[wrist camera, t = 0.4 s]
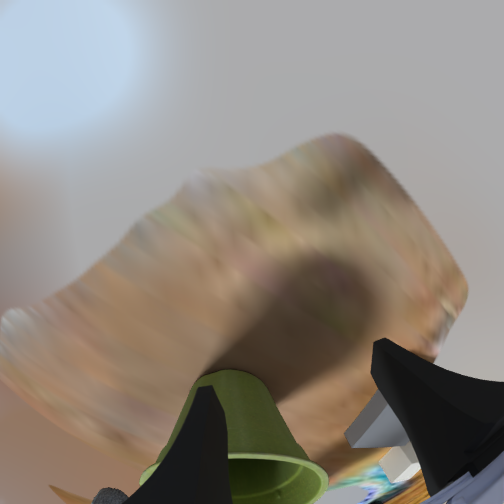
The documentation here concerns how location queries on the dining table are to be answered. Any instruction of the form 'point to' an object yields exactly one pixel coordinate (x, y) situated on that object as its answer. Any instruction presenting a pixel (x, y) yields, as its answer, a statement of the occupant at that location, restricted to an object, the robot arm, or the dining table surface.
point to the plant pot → (256, 445)
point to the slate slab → (376, 426)
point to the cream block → (400, 463)
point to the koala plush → (110, 496)
